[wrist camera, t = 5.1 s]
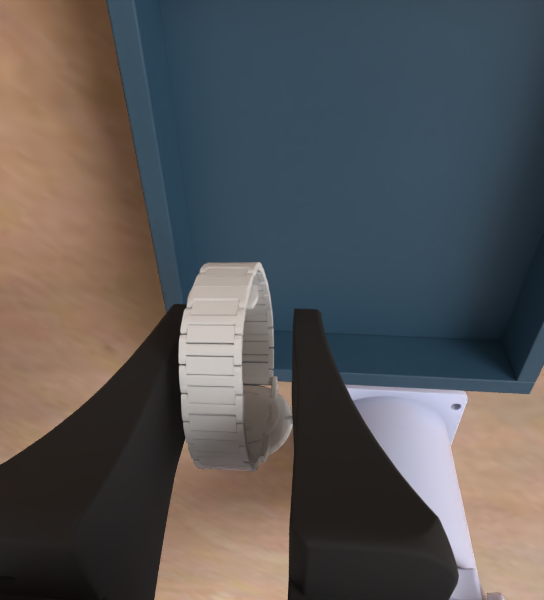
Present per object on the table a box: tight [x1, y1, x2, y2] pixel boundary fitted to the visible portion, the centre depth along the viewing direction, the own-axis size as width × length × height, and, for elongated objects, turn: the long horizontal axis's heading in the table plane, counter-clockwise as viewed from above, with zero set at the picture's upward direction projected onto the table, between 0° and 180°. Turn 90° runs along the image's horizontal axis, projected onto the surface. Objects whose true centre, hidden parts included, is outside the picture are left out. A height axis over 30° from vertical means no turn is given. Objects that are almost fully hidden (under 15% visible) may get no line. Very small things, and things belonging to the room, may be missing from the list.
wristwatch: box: [179, 262, 293, 472], centre depth 13 cm, size 3×5×5 cm, turn 5°
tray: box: [106, 0, 544, 394], centre depth 19 cm, size 18×16×3 cm
